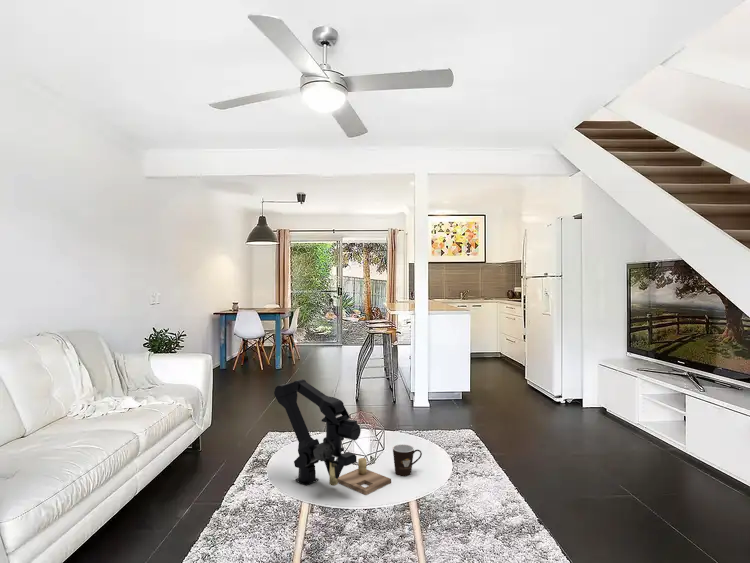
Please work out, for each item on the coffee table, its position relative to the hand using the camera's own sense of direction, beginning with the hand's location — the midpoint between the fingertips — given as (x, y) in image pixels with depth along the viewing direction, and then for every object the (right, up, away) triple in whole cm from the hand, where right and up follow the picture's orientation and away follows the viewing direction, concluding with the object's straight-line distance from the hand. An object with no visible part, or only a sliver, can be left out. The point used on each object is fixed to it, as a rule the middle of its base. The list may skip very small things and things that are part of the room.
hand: (333, 476), depth 171 cm
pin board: (+11, -5, +6) cm, 13 cm away
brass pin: (0, -3, 0) cm, 3 cm away
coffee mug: (+28, -5, +15) cm, 32 cm away
